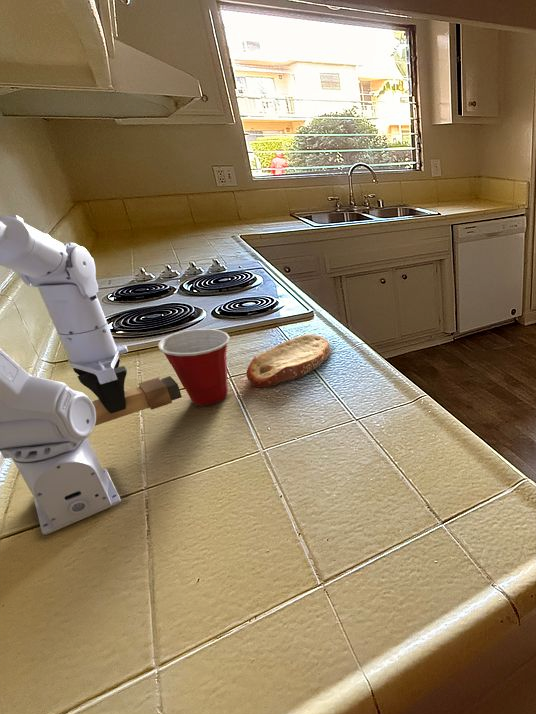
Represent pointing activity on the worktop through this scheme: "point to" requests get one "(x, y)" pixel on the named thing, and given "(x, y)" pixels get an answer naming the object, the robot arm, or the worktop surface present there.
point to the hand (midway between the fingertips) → (115, 407)
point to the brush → (141, 398)
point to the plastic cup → (199, 363)
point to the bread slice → (288, 361)
